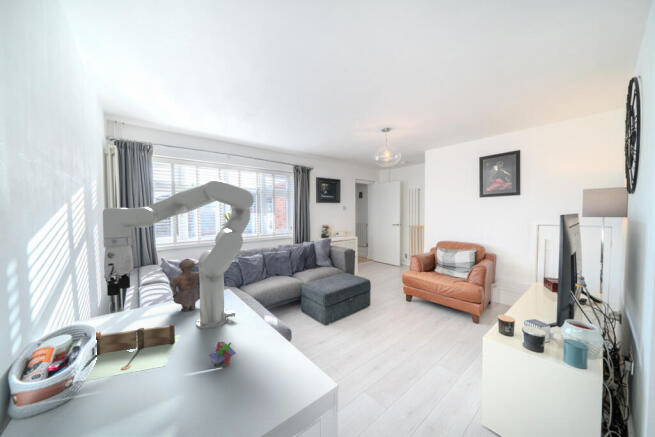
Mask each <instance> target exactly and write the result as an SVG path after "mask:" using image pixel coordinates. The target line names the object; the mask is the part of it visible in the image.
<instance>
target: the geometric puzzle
mask: <svg viewBox="0 0 655 437" xmlns="http://www.w3.org/2000/svg"><path fill="white" fill-rule="evenodd" d="M231 345H232V342H230V341H229V342H228V341H227V342H224V341H220V342H219V341H218V342H217V343H216V345H215V351H214V352H211V354H209V355H208V356H209V358H210V359H211V360H212V361H213V362H214V366H215V367H216V366H217V365H220V363H222V362H223V363H224V364H225V365H223V364H222V367H225V366H226V367H229V366H230V365H229V364H230V360H231V359H232V358H231V357H233V356H235V355H236V354H237V353H236V351H235V349H234V348H232V346H231Z"/></svg>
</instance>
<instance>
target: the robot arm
mask: <svg viewBox="0 0 655 437" xmlns="http://www.w3.org/2000/svg"><path fill="white" fill-rule="evenodd" d="M215 202H219V203H222V204H224V205H228V206H230V210H231V213H230V214H229V217H228V219H227V221H226V222H225V223H224V225H223V226H222V228H221V229H220V230H219V232H218V233H217V234H216V236H215V239H214V242H215V245H214V246H213V248H212V249H208V250H205V251H203V252H202V253H201V254H200V256H199V258H198V264H197V265H198V272H199V281H200V299H199V318H198V319H197V320H196V322H195V327H197V328H198V329H204V330H206V329H207V330H208V329H214V328H218V327H220V326H223V325H224V324H226V323H228V321H229V317H230V318H232V317H236V312H235V311H233V310H228V311H227V310H226V307H225V275H224V273H225V272H226V271H227V270H228V269H229V267H230V266H231V265H232V263H233V262H234V261H235V259H236V257H237V256H238V254H239V253H240V251H241V249H242V247H243V244H244V239H243V238H244V237H243V236H242V235H243V233H244V231H245V230H246V229H247V227H248V225H249V222H250V221H251V209H250V208H251V207H252V206H253V205H254V202H255V200H254V195H253V194H252V193H251V192H250V191H249V190H247V189H245V188H242V187H239V186H236V185H234V184H232V183H231V184H230V183H228V182H225V181H222V180H220V179H212V180H209V181H208V182H205V183H201V184H198V185H196V186H194V187H190V188H188V189H185V190H181V191H178V192H177V193H175V194H172V195H171V196H169V197H167V198H165V199H163V200H159V201H156V202H155V203H151V204H149V205H145V206H141V207H131V208H130V207H129V208H128V207H105V208H104V209H103V210H102V233H103V234H102V236H103V238H102V239H103V248H104V257H103V258H104V259H103V260H104V261H103V269H104V270H103V271H104V274H103V277H104V279H105V282H106V290H107V292H106V293H107V294H106V295H107V296H108V297H110V296H111V297H112V296H118V295H120V293H121V292H120V291H121V290H122V289H130V288H131V271H133V269H134V257H133V249H132V245H133V242H132V239H133V238H132V228H149V227H151V226H153V225H154V224H155V225H156V224H157V223H160V222H162V221H164V220H167V219H169V218H172V217H175V216H179V215H183V214H186V213H190V212H192V211H194V210H197V209H200V208H202V207H204V206H207V205H209V204H213V203H215Z"/></svg>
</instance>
